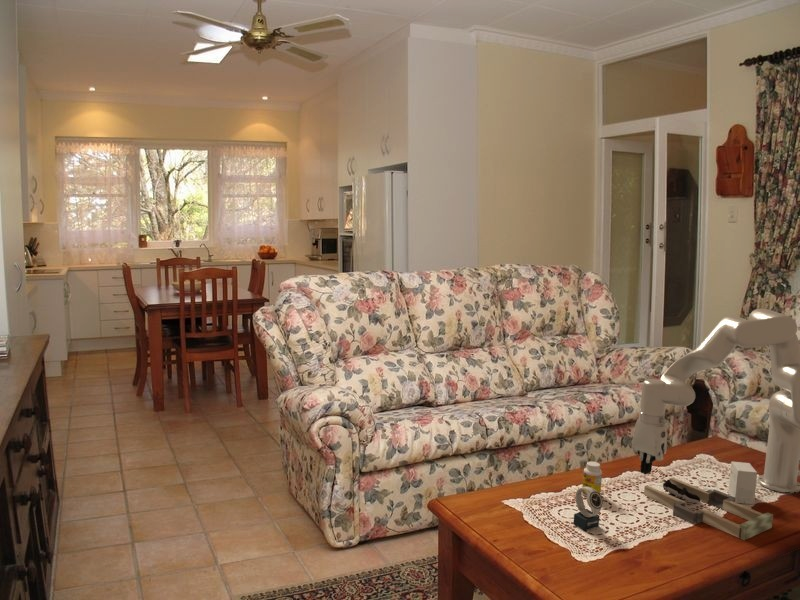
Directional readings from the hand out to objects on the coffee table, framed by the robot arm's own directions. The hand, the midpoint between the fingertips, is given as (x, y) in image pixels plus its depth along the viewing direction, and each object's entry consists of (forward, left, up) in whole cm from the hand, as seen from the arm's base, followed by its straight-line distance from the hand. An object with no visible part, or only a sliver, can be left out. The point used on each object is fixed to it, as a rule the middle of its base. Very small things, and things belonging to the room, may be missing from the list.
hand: (645, 472), depth 225 cm
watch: (+38, +9, -5) cm, 39 cm away
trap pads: (0, +21, -4) cm, 21 cm away
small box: (-18, +22, -5) cm, 29 cm away
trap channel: (0, +21, -4) cm, 21 cm away
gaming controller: (-2, +12, -5) cm, 13 cm away
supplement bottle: (+21, -4, -5) cm, 22 cm away
